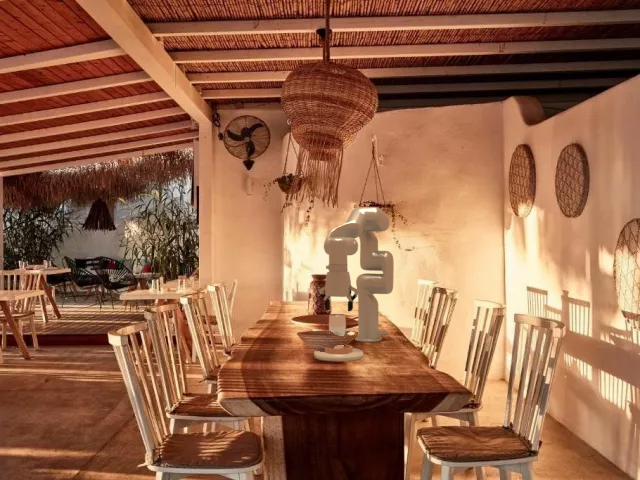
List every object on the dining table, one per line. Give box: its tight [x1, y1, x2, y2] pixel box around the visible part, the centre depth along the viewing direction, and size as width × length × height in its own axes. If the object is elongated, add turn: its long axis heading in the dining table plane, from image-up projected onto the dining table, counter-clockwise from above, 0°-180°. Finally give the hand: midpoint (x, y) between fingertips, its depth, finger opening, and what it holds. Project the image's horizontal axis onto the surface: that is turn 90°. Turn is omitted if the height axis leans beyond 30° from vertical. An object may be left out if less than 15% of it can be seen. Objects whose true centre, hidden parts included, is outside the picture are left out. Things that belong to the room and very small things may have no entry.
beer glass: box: [328, 313, 347, 349], centre depth 247 cm, size 7×7×15 cm
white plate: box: [313, 344, 364, 362], centre depth 246 cm, size 20×20×4 cm
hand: (338, 310), depth 247 cm, fingers open, 9 cm apart
